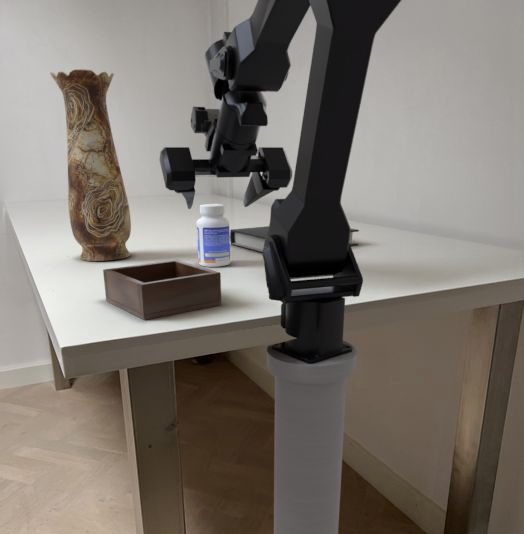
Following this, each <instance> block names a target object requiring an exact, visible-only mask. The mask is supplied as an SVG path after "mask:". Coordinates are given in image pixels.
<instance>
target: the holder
mask: <svg viewBox="0 0 524 534" xmlns="http://www.w3.org/2000/svg"><path fill="white" fill-rule="evenodd" d="M102 273H103V282H104V283H103V284H104V290H105V291H104V292H105V293H104V294H105V302H106V303H108V304H111V305H113V306H115V307H117V308H119V309H121V310H123V311H125V312H127V313H129V314H131V315H133V316H135V317H136V318H139V319H140V320H144V321H146V320H151V319H157V318H161V317H162V318H163V317H167V316H172V315H176V314H181V313H187V312H192V311H197V310H203V309H207V308H212V307H213V308H214V307H218V306H222V282H221V281H222V280H221V279H222V277H221V272H220V271H217V270H213V269H209V268H206V267H204V266H200V265H196V264H194V263H193V264H192V263H189V262H186V261H182V260H178V259H172V260H166V261H157V262H149V263H142V264H135V265H128V266H120V267H114V268H113V267H112V268H106V269H103V270H102Z"/></svg>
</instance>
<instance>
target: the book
mask: <svg viewBox="0 0 524 534" xmlns="http://www.w3.org/2000/svg"><path fill="white" fill-rule="evenodd" d="M268 229H269V225H268V226H256V227H255V226H254V227H245V228H243V227H242V228H233V229H230V230H229V233H230V246H231V245H232V246H234V247H235V246H236V247H238V248H242V249H247V250H250V251H253V252H258V253H261V254H262V251H263V248H264V242H265V239H266V237H267V232H268ZM350 229H351V231H350V239H349V243H350V246H351V247H352V246H358V245H359V243H358V242H356V241H355V242H354V241H353V235H354V234H353V233H357V232H360V230H359V229H356V228H351V227H350Z"/></svg>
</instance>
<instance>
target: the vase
mask: <svg viewBox="0 0 524 534" xmlns="http://www.w3.org/2000/svg"><path fill="white" fill-rule="evenodd" d="M49 74H50V76H51V78H52V79H53V81H54V82H55V84H56V85H57V87H58V88H59V90H60V91H61V94H62V97H63V102H64V103H63V104H64V110H65V120H66V121H65V123H66V145H67V194H68V195H67V200H68V201H67V202H68V203H67V205H68V215H69V223H70V229H71V232H72V236H73V238H74V240H75V241H76V243H77V244H78V245H80V246H81V253H80V257H79V259H80V260H81V261H86V262H87V261H88V262H106V261H115V260H121V259H125V258H129V257H131V253H130V251H129V249H128V248H127V246H126V244H127V242H128V241H129V239H130V237H131V233H132V232H131V231H132V221H131V211H130V205H129V200H128V196H127V192H126V187H125V183H124V179H123V175H122V170H121V168H120V162H119V158H118V154H117V151H116V146H115V141H114V137H113V133H112V127H111V122H110V118H109V112H108V111H109V110H108V106H107V95H108V91H109V89H110V86H111V84H112V83H111V82H112V80H113V78H114V76H115V74H114V72H110V73H108V72H107V71H105V70H104V71H100V72H99V73H96V72H94V71H93V70H92V69H87V68H73V69H70V71H69V73H66V72H65V71H63V70H59V71H57V74H56V73H55V72H53V71H49Z"/></svg>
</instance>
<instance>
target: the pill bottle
mask: <svg viewBox="0 0 524 534" xmlns="http://www.w3.org/2000/svg"><path fill="white" fill-rule="evenodd" d="M199 214H200V215H201V217H200V218H198V219H197V220H196V239H197V240H196V241H197V259H198V264H199V266H201V267H207V268H208V267H209V268H214V267H215V268H217V267H226V266H228V265H230V264H231V242H230V220H229V219H228V218H227V217H225V216H224V214H225V205H224V204H222V203H205V204H200V205H199Z"/></svg>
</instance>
